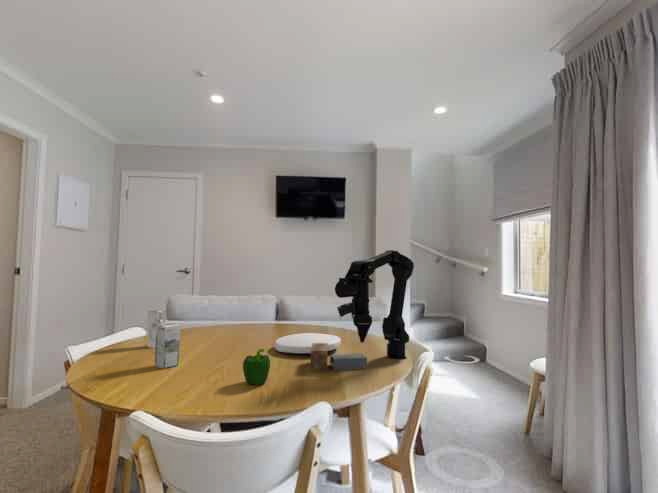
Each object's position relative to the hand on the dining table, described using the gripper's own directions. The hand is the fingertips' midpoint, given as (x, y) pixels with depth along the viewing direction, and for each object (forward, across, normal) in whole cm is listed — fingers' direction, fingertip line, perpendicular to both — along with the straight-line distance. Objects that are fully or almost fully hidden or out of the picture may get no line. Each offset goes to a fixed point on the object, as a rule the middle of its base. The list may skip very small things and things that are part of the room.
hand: (361, 339), depth 126 cm
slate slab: (+10, 0, -5) cm, 11 cm away
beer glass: (+9, -24, -87) cm, 91 cm away
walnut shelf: (+9, +1, -15) cm, 17 cm away
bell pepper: (+9, +19, -33) cm, 39 cm away
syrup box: (+9, +4, -69) cm, 69 cm away
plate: (+10, -23, -21) cm, 33 cm away
